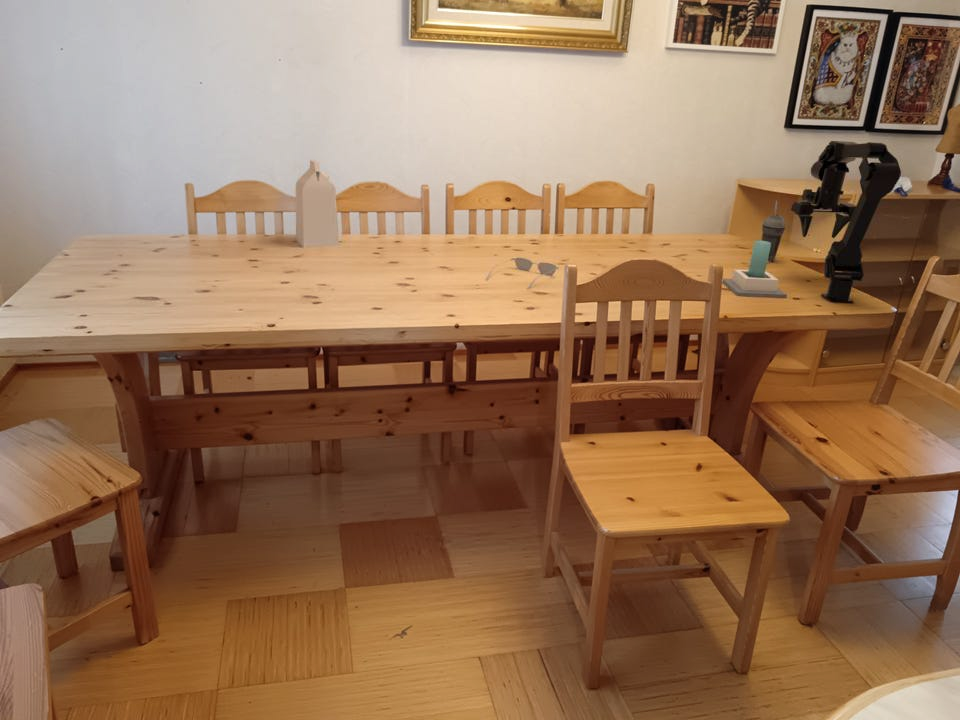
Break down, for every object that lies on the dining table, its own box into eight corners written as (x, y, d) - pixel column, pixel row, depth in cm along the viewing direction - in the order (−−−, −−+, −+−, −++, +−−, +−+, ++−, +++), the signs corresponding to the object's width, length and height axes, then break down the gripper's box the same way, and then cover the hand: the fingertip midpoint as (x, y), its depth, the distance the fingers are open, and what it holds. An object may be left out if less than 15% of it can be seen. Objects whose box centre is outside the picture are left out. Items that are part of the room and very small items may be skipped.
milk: (296, 239, 237) (291, 158, 227) (330, 237, 241) (327, 158, 231) (303, 247, 227) (299, 163, 217) (339, 245, 231) (337, 163, 221)
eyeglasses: (558, 278, 210) (559, 264, 209) (530, 292, 196) (531, 278, 194) (512, 268, 217) (513, 256, 216) (482, 281, 203) (483, 268, 202)
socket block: (786, 298, 201) (789, 282, 199) (737, 295, 201) (740, 280, 199) (767, 283, 214) (770, 269, 212) (721, 281, 214) (724, 267, 212)
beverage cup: (764, 263, 237) (776, 203, 229) (750, 258, 243) (762, 199, 236) (782, 263, 239) (795, 203, 231) (769, 257, 245) (781, 199, 238)
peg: (764, 286, 207) (773, 242, 202) (758, 289, 204) (767, 245, 199) (749, 283, 210) (758, 239, 205) (743, 285, 207) (751, 241, 202)
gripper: (847, 181, 217) (834, 231, 224) (788, 178, 216) (777, 229, 222) (867, 188, 207) (853, 241, 214) (806, 186, 206) (793, 239, 212)
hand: (818, 237), depth 216 cm, fingers open, 9 cm apart
